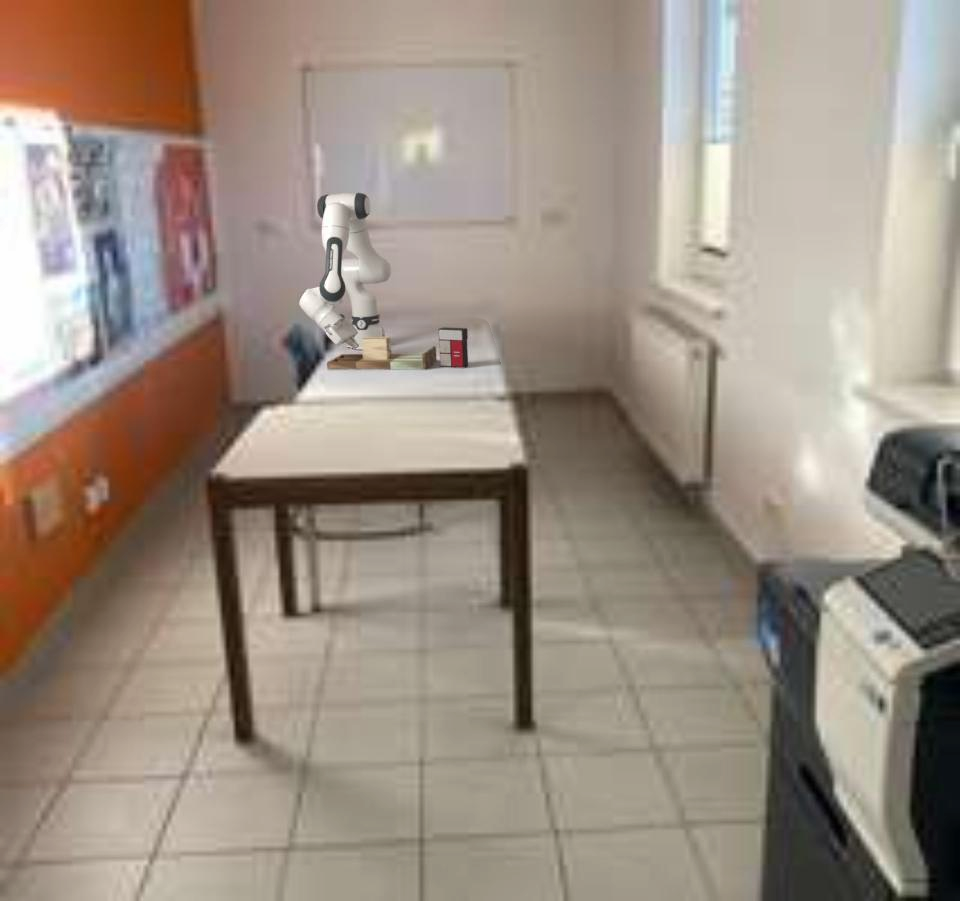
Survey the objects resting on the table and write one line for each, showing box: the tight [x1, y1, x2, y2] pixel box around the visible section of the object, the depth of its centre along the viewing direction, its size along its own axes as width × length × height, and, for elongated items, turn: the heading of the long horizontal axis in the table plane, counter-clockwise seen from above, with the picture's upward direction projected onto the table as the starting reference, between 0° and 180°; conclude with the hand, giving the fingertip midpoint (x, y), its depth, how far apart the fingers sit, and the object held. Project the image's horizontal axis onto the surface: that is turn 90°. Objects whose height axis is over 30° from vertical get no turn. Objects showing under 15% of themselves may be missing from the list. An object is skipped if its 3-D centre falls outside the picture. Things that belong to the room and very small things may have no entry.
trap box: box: [326, 346, 438, 370], centre depth 395 cm, size 18×40×6 cm, turn 79°
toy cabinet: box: [438, 326, 469, 368], centre depth 385 cm, size 11×4×15 cm, turn 62°
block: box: [361, 336, 392, 359], centre depth 394 cm, size 6×10×8 cm, turn 79°
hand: (357, 347), depth 396 cm, fingers closed
